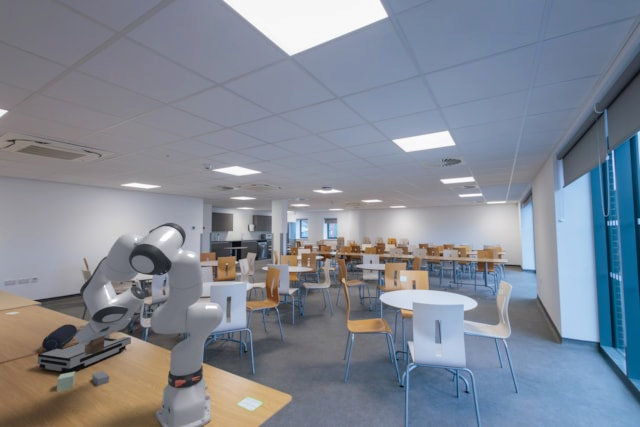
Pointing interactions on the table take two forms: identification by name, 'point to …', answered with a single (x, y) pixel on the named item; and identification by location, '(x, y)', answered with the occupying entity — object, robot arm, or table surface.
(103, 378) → the grey flat brick
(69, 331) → the portable speaker
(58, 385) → the sage cube
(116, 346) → the game console
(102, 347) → the walnut column
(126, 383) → the table surface
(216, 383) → the table surface
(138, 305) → the robot arm
